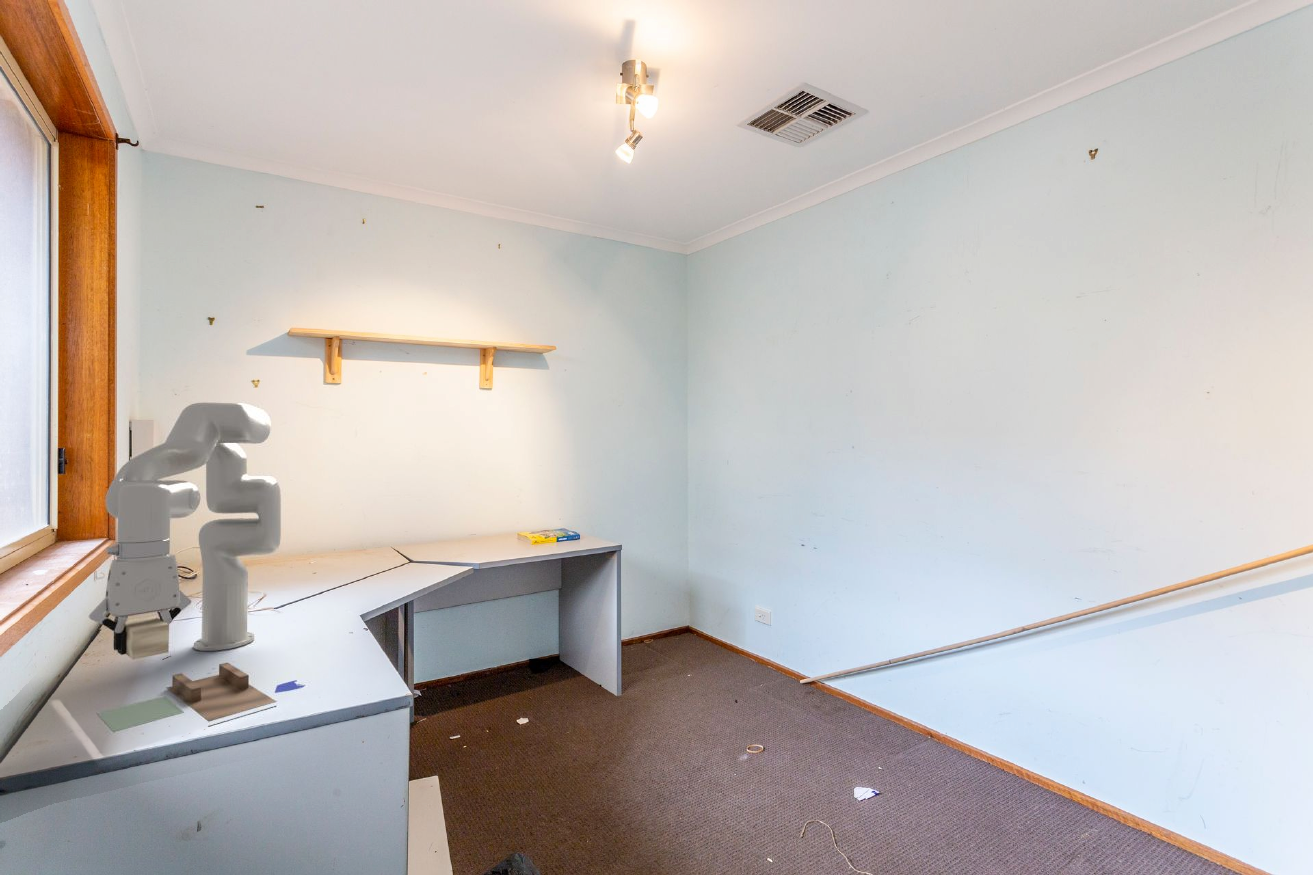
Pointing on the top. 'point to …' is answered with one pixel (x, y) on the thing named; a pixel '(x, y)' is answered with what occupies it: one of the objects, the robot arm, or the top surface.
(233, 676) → the holder
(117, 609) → the robot arm
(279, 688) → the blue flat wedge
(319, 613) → the top surface
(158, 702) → the mat
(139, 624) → the block
